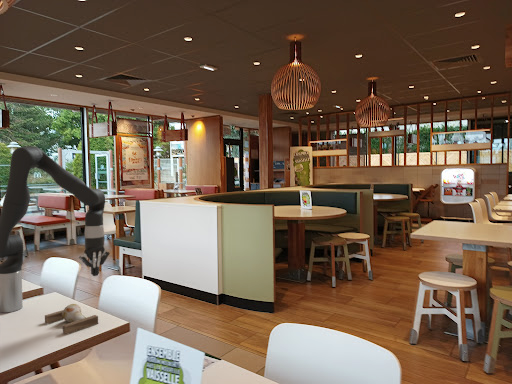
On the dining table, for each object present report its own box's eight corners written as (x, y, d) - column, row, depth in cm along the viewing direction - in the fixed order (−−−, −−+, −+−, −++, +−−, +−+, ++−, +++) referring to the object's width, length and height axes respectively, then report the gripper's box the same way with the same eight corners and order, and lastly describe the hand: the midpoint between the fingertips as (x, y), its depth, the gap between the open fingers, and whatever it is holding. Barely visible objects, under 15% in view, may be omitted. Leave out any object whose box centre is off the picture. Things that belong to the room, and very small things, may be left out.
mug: (74, 329, 145) (63, 307, 146) (68, 332, 152) (57, 311, 152) (92, 319, 151) (81, 297, 151) (85, 323, 157) (75, 302, 158)
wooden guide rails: (44, 322, 151) (44, 315, 150) (76, 312, 161) (76, 306, 161) (66, 334, 140) (65, 327, 140) (98, 323, 150) (98, 316, 150)
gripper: (104, 232, 164) (104, 270, 165) (74, 236, 154) (75, 277, 155) (113, 234, 160) (114, 273, 161) (83, 239, 149) (84, 280, 150)
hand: (95, 275), depth 158 cm, fingers closed
